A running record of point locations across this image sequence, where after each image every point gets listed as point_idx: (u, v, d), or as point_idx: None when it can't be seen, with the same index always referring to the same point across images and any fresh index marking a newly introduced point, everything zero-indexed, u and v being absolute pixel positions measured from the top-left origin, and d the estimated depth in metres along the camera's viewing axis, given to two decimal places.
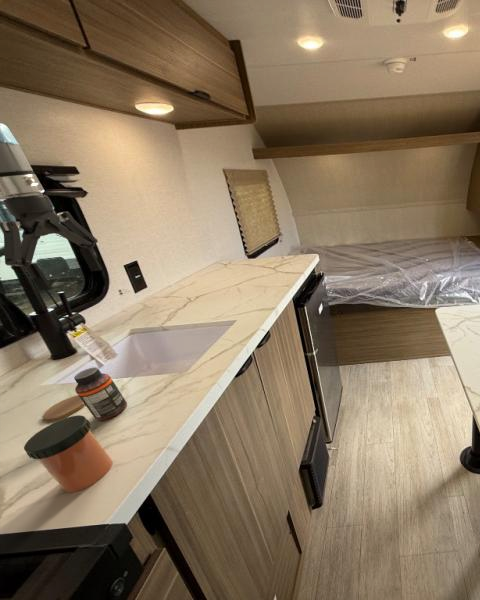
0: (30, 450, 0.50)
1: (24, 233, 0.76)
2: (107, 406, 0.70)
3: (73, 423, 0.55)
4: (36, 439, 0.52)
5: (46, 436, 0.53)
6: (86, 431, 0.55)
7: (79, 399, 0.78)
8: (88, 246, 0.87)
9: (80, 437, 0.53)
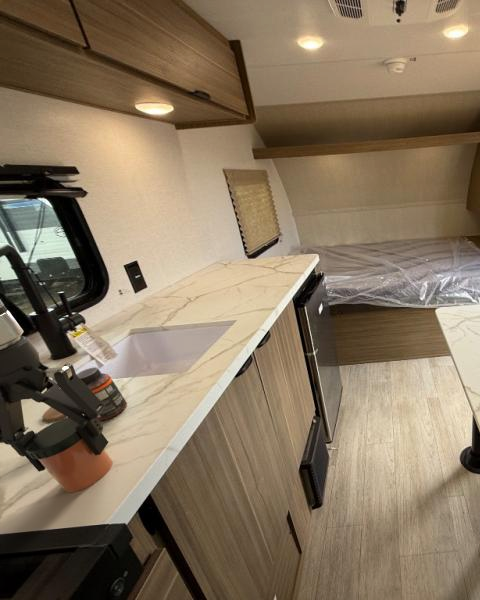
0: (30, 450, 0.50)
1: None
2: (107, 406, 0.70)
3: (73, 423, 0.55)
4: (36, 439, 0.52)
5: (46, 436, 0.53)
6: None
7: None
8: None
9: (80, 437, 0.53)
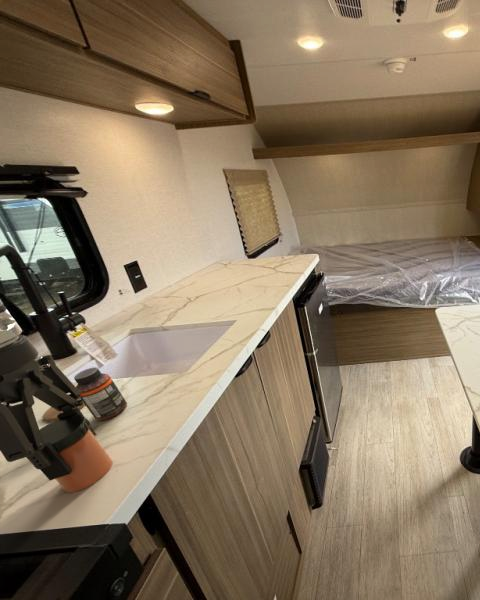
0: (73, 431, 0.53)
1: None
2: (107, 406, 0.70)
3: (52, 426, 0.54)
4: (50, 440, 0.51)
5: (55, 434, 0.52)
6: None
7: (79, 399, 0.78)
8: (72, 407, 0.57)
9: None
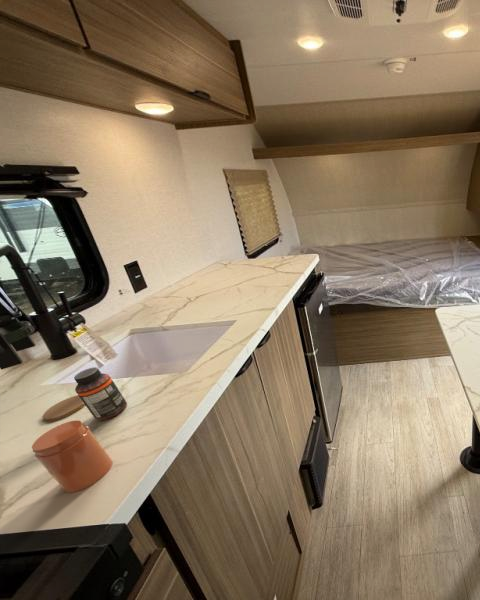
0: (21, 327, 0.60)
1: None
2: (107, 406, 0.70)
3: None
4: None
5: (2, 331, 0.59)
6: None
7: (79, 399, 0.78)
8: (11, 316, 0.63)
9: None
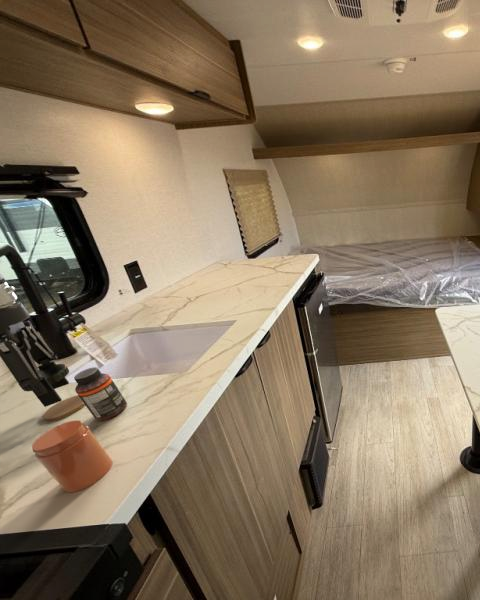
0: (59, 370, 0.73)
1: None
2: (107, 406, 0.70)
3: None
4: None
5: (44, 375, 0.72)
6: None
7: (79, 399, 0.78)
8: (49, 360, 0.75)
9: None
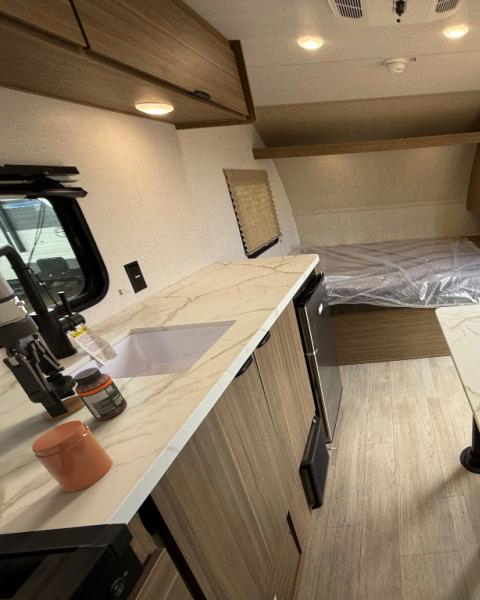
0: (67, 382, 0.74)
1: None
2: (107, 406, 0.70)
3: None
4: None
5: (52, 386, 0.73)
6: None
7: (79, 399, 0.78)
8: (57, 371, 0.77)
9: None
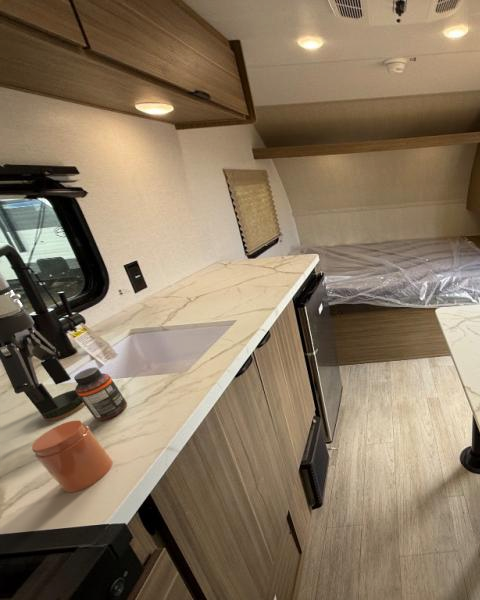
0: (77, 397, 0.76)
1: None
2: (107, 406, 0.70)
3: (55, 399, 0.76)
4: (62, 404, 0.74)
5: (63, 401, 0.75)
6: None
7: None
8: (53, 357, 0.78)
9: None
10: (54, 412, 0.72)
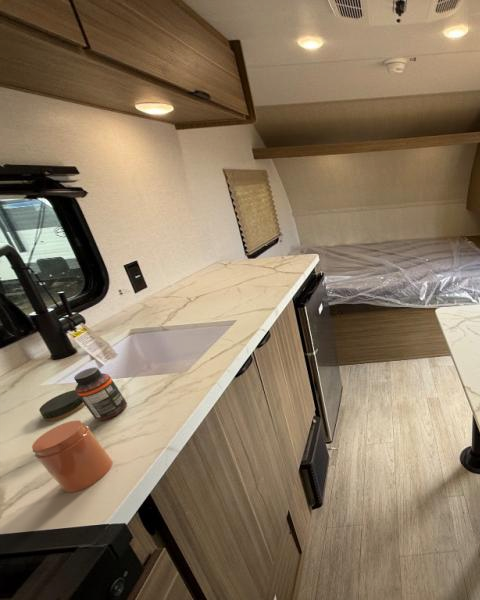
0: (77, 397, 0.76)
1: None
2: (107, 406, 0.70)
3: (55, 399, 0.76)
4: (62, 404, 0.74)
5: (63, 401, 0.75)
6: None
7: None
8: None
9: None
10: (54, 412, 0.72)
